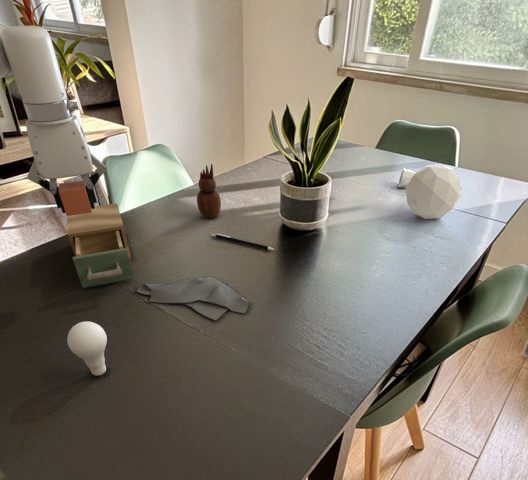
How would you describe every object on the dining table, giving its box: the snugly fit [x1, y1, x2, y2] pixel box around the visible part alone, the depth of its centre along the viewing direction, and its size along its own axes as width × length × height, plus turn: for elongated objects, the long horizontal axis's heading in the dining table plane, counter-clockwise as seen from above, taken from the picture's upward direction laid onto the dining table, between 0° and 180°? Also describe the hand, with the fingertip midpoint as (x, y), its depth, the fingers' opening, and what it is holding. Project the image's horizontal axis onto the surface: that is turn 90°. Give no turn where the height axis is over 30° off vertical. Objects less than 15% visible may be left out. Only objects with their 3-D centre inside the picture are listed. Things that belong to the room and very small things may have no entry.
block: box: [58, 179, 92, 217], centre depth 88 cm, size 5×5×5 cm
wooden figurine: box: [196, 163, 222, 219], centre depth 122 cm, size 7×6×15 cm
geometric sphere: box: [405, 162, 462, 220], centre depth 120 cm, size 14×15×15 cm
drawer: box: [72, 230, 135, 289], centre depth 98 cm, size 18×11×7 cm, turn 20°
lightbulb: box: [66, 321, 108, 377], centre depth 73 cm, size 6×6×11 cm
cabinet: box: [66, 203, 133, 261], centre depth 108 cm, size 15×13×9 cm
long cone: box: [397, 168, 418, 188], centre depth 139 cm, size 6×6×19 cm
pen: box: [211, 233, 275, 251], centre depth 112 cm, size 1×19×1 cm, turn 62°
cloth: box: [136, 276, 250, 321], centre depth 94 cm, size 26×14×2 cm, turn 63°
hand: (78, 207), depth 89 cm, fingers closed on block, 5 cm apart
